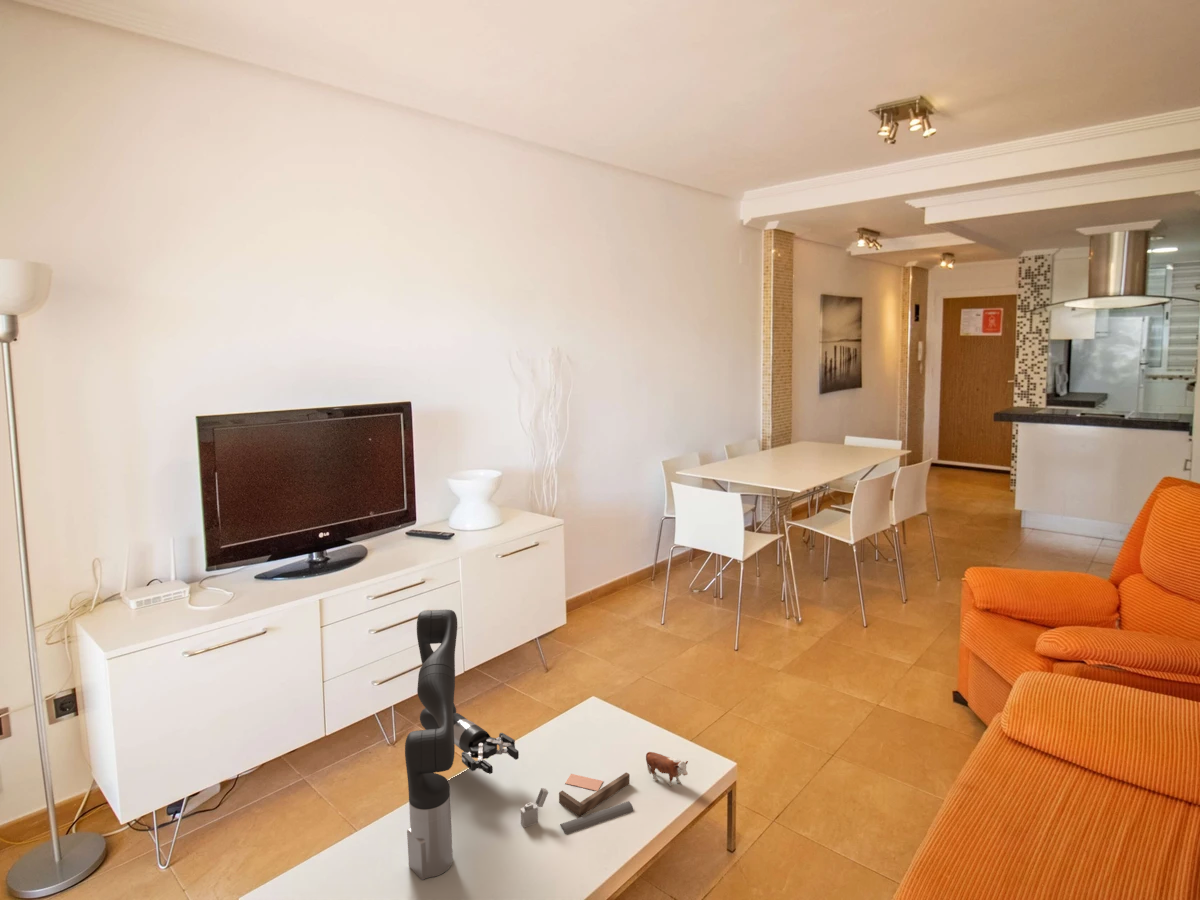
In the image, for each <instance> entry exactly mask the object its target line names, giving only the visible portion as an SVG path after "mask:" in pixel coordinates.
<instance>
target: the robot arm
mask: <svg viewBox="0 0 1200 900" xmlns="http://www.w3.org/2000/svg"><path fill="white" fill-rule="evenodd" d="M457 635H458V617H457V613H456V612H455V611H454V610H452V609H431V610H430V609H429V610H422V611H420V612H419V613H418V615H417V620H416V637H417V644H418V648H419V655H420V659H421V664H422V665H421V667H420V669H419V672H418V680H417V687H416V688H417V689H416V690H417V691H416V692H417V696H418V699H419V700H420V703H421V705H422V706H423V707H424V708H423V709H422V710H421V712H420V713H419V714H420V715H419V721H420V725H421V726H422V727H423V728H424V729H421V730H419V729H418V730H413V731H410V732H409V733H408V734H407V736H406V738H405V743H404V759H405V766H406V775H407V785H408V786H407V788H408V804H409V805H408V809H409V824H410V827H409V829H407V830H406V835H407V836H406V837H407V854H408V867H409V868H410V869H411V870H412V871H413V872H414V873H415V874H416V876H418V878H420V880H422V881H423V880H425V879H427V878H435V877H438V876H440V875H442V874H443V873H445V872H447V871H448V870H449V868H450V867H451V866H452V864H453V860H454V858H453V853H454V850H453V833H452V813H451V812H452V810H451V807H452V806H451V790H450V789H451V786H450V782H449V780H448V779H447V778H446V777H445V776H444V775H442V774H440V773H441V772H447V771H449V770H450V769H451V768H452V766H453V765H454V761H455V746H456V747H458V748H459V749H460V750H461V751H462V752H461V762H462V763H463V765H464V766H465V767H467V768H468V770H470V771H472V772H475V771H476V770H477V769H478V770H482V771H483V772H484V773H486V774H489V775H491V774H493V773H494V770H493V769H494V768H493V766H492V764H491V763H489V762H488V761H486V760H487V759H489V758H490V757H492V756H495V755H503V754H508V756H510V757H511V758H513V759H514V760H518V759H519V755H520V754H519V750H518V749H517V748H516V745H515V744H516V741H515V739H514V738H512V737H510V736H509V735H507V734H506V733H503V732H499V733H498V737H492V736H491V735H490V734H489V732H488V731H486V730H485V729H483V728H482V727H481V726H479V725H478V724H476V723H475V722H474V721H471V720H469V719H468V718H466V717H465V716H463V715H462V714H460V713H458V712H457V706H456V705H455V690H456V688H455V687H456V662H455V661H456V657H455V656H456V644H457ZM432 644H433V645H434V644H440V645H439V646H438V647H437V649H436V650H433V648H432ZM498 747H499V749H498ZM475 759H477V760H475ZM485 759H486V760H485ZM438 773H439V774H438Z"/></svg>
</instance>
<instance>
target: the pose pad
mask: <svg viewBox="0 0 1200 900" xmlns="http://www.w3.org/2000/svg"><path fill="white" fill-rule="evenodd" d="M603 783H604V781H603V780H600V779H596V778H591V777H589V776H583V775H579V774H574V773H570V775H569V776H568V778H567V779H566V781H565V785H569V786H573V787H578V788H581V789H582V788H583V789H585V790H590V791H594V792H597V791H598V790H600V789H601V787H602V785H603Z"/></svg>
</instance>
